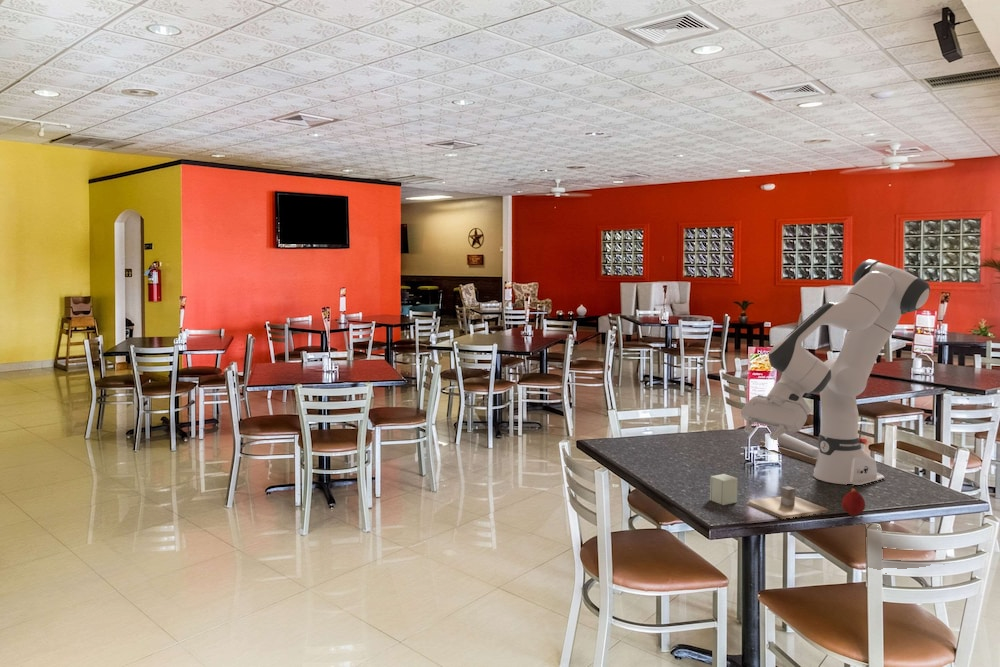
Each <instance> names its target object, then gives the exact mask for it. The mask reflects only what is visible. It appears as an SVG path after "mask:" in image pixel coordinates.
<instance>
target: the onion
mask: <svg viewBox="0 0 1000 667" xmlns="http://www.w3.org/2000/svg"><path fill="white" fill-rule="evenodd" d="M841 507H842V509H843V510H844V511H845V512H846V513H847V514H848V515H849V516H850V517H851V516H852V517H851V518H854V517H856V516H858V515H860V514H862V513H863V512H864V510H865V508H866V501H865V499H864V497H863V495H861V494H860V493H859V492H858V491H857V490H856V489H855V488H850V491H848V492H847V493H846V494H844V496H843V497H842V500H841Z"/></svg>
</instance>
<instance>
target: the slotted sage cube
mask: <svg viewBox="0 0 1000 667" xmlns="http://www.w3.org/2000/svg"><path fill="white" fill-rule="evenodd" d="M709 479H710V481H709V482H710V484H709V500H710V501H712V502H714V503H716V504H719V505H722V506H726V505H730V504H736V503H738V480H739V479H738V478H737V477H736V476H735V477H734V476H731V475H729V474H726V473H722V474H716V475H710V478H709Z"/></svg>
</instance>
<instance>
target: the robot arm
mask: <svg viewBox="0 0 1000 667" xmlns="http://www.w3.org/2000/svg"><path fill="white" fill-rule="evenodd" d="M852 275H853V276H852V279H851V280H852V284H853V286H852V287H851V288H850V289H849V290H848V292H847V293H846V294H845V295H844V296H843V297H842V298H841V299H840V300H837V301H836V302H834V301H828V302H826V303H824V304H822V305H821V306H819V308H817V309H815V311H814V312H813V313H811V314H810V315H809V316H808V317H807V318H805V319H804V320H803V321H802V322H801V323H800V324H799V325H798V326H797V327H795V328H794V329H793V330H792V331H791V332H790V333H789V334H788V335H786V336H785V337H784V338H782V339H780V340H779V341H778V342H777V343H775V345H773V346H772V348H771V349H769V350H770V351H769V353H768V360H769V365H770V367H771V368H773V369H775V370H777V371H778V372H779V373H782V374H780V375H781V376H780V378H779V380H778V381H777V382H776V383H775V384H774V385H773V387H771V389H770V391H769V393H768V394H767V396H766V395H765V396H764V395H761V394H759V395H756V396H753V397H752V398H750V399H749V400H748V401H747V402H746V403H745V405H744V406H743V407H742V408H741V409H740V415H741V417H742V418H743V419H744V420H745V421H746V425H745V427H744V429H743V430H744V432H745V433H747V434H752V432H753V430H754V429H753V427H752V425H754V424H755V423H756V424H761V425H763V426H769V427H772V428H776V430H775V431H773V430H772V431H771V432H770V434H769V438H770V439H772V440H773V441H774V440H777V438H778V437H779V436H780V435H782V434H784V433H785V434H786V432H787V431H790V432H792V433H798V432H799V431H801V430H802V429H803V427H804V425H805V424H806V421H807V419H808V416H809V415H810V414H811V412H812V411H811V408H810V406H809V405H808V403H807V402H806V400H805V399H804V398H803V397H804V395H805V394H808V395H810V394H819V399H820V409H821V411H820V415H821V416H820V432H819V434H818V442H817V445H818V448H819V449H818V454H817V460H816V464H815V467H814V468H813V474H812V476H813V477H814V478H815V479H817V480H820V481H822V482H825V483H831V484H836V485H837V484H838V485H847V484H854V485H860V484H864V483H868V482H871V481H875V480H879V479H882V478H885V476H884V475H883V474H881V473H879V472H878V471H877V470H878V469H877V462H876V460H875V459H874V458H873V457H872V456H871V455H870V454H868V452H866V451H865V450H864V449H862V445H867V443H868V442H869V441H868V439H867V438H865V437H862V436H861V437H858V433H859V431H858V430H859V415H860V414H859V410H858V404H857V397H858V396H860V395H861V394H862V393H863V392H864V391H865V389H866V387H867V384H868V379H869V377H870V375H871V373H872V370H873V369H874V367H875V366H874V365H875V362H876V360H877V358H878V356H879V354H880V353H881V352H882V349H884V347H885V346H886V343H887V342H888V341H889V339H890V337H891V336H892V334H893V333H894V331H895V330H896V327H897V326H898V324H899V321H900V320H901V317H902V315H906V314H908V313H913V312H916V311H918V310H920V309H921V307H922V306H924V305H925V304H926V302H927V301H928V299H929V295H930V293H931V287H930V284H929V283H928V282H927V281H926V280H924V279H923V278H921V277H917V276H915V275H914V274H912V273H910V272H908V271H906V270H904V269H903V268H900V267H899V268H898V267H896V266H892V265H889V264H886V263H882V262H880V260H877V259H870V258H869V259H867V260H864V261H862V262H861V263H859V265H858V266H857V267H856V268H855V271H854V272H853V274H852ZM821 326H830V327H835V328H838V329H842V330H844V331H848V332H847V334H846V335H845V337H844V341H843V343H842V346H841V348H840V352H839V353H838V356H837V357H832V358H829V359H827V360H825V361H822V360H821V359H820V358H818V357H817V356H815V355H814V354H813V353H811V352H810V351H808V350H807V349H806V348H804V347H803V345H802V343H803V342H804V341H805V340H806V339H807V338H808V337H809V336H810V335H811V334H813V333H814V332H815V331H816V330H817V329H818V328H819V327H821ZM854 485H853V486H854Z"/></svg>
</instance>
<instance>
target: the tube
mask: <svg viewBox="0 0 1000 667" xmlns="http://www.w3.org/2000/svg"><path fill="white" fill-rule="evenodd" d="M778 443H779V445H778V446H780V447H782V448H786V449H789V450H792V451H795V452H798V453H801V454H804V455H808V456H811V457H814V458H817V454H818V449H819V447H817V446H814V445H812V444H810V443H807V442H805V441H803V440H800V439H799V438H796V437H793V435H792V436H791V435H789V434H787V433H786V432H785V433H784V434H782V435H780V436H779V437H778Z"/></svg>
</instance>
